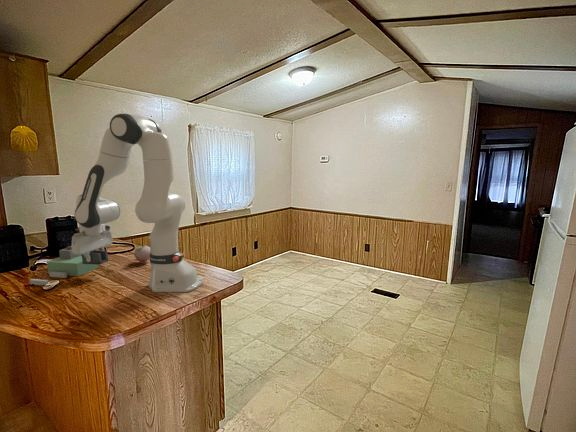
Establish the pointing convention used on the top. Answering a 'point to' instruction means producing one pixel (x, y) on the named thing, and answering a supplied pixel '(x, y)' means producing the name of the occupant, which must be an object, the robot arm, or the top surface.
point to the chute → (96, 257)
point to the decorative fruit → (142, 253)
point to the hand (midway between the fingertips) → (95, 259)
